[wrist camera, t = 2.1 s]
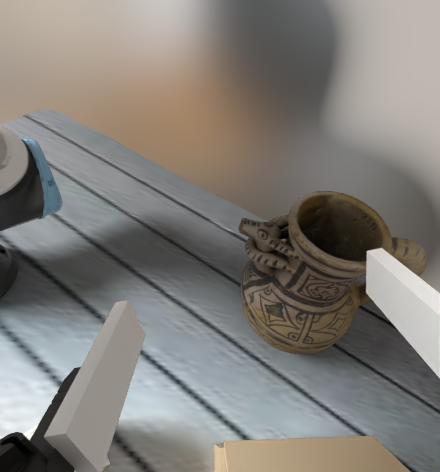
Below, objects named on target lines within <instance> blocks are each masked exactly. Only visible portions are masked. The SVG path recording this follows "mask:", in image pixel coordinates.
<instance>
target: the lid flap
mask: <svg viewBox="0 0 440 472" xmlns="http://www.w3.org/2000/svg"><path fill="white" fill-rule="evenodd" d="M224 451H225V459H226V467H227V472H410V471H409V470H408V469H407V468H406V467H405V466H404V465H403V464H402V463H401V462H400V461H399V460H398V459H397V458H396V457H395V456H394V455H393V454H392V453H391V452H390V451H388V450H387V449H386V448H385V447H384V446H383V445H382V444H381V443H380V442H379V441H378V440H377V439H376V438H375V437H374V436H353V437H324V438H296V439H267V440H239V441H224Z"/></svg>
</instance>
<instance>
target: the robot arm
mask: <svg viewBox="0 0 440 472" xmlns="http://www.w3.org/2000/svg"><path fill="white" fill-rule="evenodd" d="M61 207H62V198H61V195H60V192H59V190H58V187H57V185H56V183H55V181H54V178H53V175H52V172H51V170H50V167H49V165H48V163H47V161H46V158H45V156H44V154H43V152H42V150H41V148H40V146H39V144H38V142H37V141H36V140H34V139H32V138H27V139H26V138H19V137H18V136H17V135H16V134H15V133H14V132H13V131H11V130H9V129H8V128H6V127H4V126H2V125H0V231H2V230H5V229H8V228H11V227H14V226H17V225H20V224H23V223H26V222H29V221H32V220H35V219H42V218H44V217H45V216H47V215H49V214H52V213H54V212H57V211H59V210H60V209H61ZM17 268H18V266H17V261H16V258H15V257H14V255H13V254H12V253H11V252H10V251H8V250H7V249H6V248H5V247H4V246H2V245H0V298H1V297H2V296H3V295H4V294H5V293H6V292H7V290H8V289H9V288H10V286H11V285H12V283H13V282H14V279H15V277H16V274H17ZM366 293H367V294H368V296H369V297H370V298H371V299H372V300H373V301H374V303H375V304H376V305H377V306H378V307H379V308H380V310H381V311H382V312H383V313H384V314H385V315H386V317H387V318H388V319H389V320H390V321H391V322H392V324H393V325H394V326H395V327H396V328H397V329H398V331H399V332H400V333H401V334H402V335H403V336H404V337H405V339H406V340H407V341H408V342H409V343H410V344H411V346H412V347H413V348H414V349H415V350H416V351H417V353H418V354H419V355H420V356H421V357H422V358H423V360H424V361H425V362H426V363H427V364H428V365H429V367H430V368H431V369H432V370H433V371H434V372H435V374H436V375H437V376H438V377H439V378H440V294H439V292H437V291H436V290H435V289H433V288H432V287H431V286H430V285H428V284H427V283H426V282H425V281H423V280H422V279H421V278H419V277H418V276H417V275H416V274H414V273H413V272H412V271H411V270H409V269H408V268H407V267H405V266H404V265H403V264H402V263H400V262H399V261H398V260H397V259H395V258H394V257H393V256H391V255H390V254H389V253H388V252H386V251H385V250H384V249H383V248H379V249H374V250H369V251H367V263H366ZM144 338H145V333H144V331H143V329H142V327H141V325H140V323H139V320H138V318H137V316H136V314H135V312H134V310H133V308H132V306H131V304H130V302H129V300H125V301H120V302H116V303H115V304H114V306H113V308H112V310H111V312H110V314H109V316H108V317H107V319H106V321H105V323H104V325H103V327H102V329H101V331H100V332H99V334H98V336H97V338H96V340H95V342H94V344H93V346H92V347H91V349H90V351H89V353H88V355H87V357H86V359H85V361H84V362H83V364H82V366H81V367H79V368H74V369H73V371H72V372H71V373H70V374H69V375H68V376H67V377H66V378H65V379H64V381H63V383H62V385H61V386H60V388H59V390H58V393H57V394H56V395H55V397H54V399H53V400H52V404H50V406H49V407H48V409H47V411H46V413H45V414H44V416H43V418H42V420H41V421H40V423H39V425H38V427H37V428H36V430H35V432H34V434H33V435H32V437H31V439H30V440H29V439H28V438H27V437H26V436H24V435H23V434H22V433H19V432H15V433H11V434H9V435H7V436H5V437H4V438H2V439H0V472H74V470H75V471H76V472H102V471H103V468H104V464H105V461H106V458H107V455H108V452H109V449H110V445H111V442H112V439H113V436H114V433H115V430H116V427H117V423H118V420H119V417H120V414H121V411H122V408H123V404H124V401H125V398H126V395H127V392H128V389H129V386H130V382H131V379H132V376H133V373H134V370H135V367H136V364H137V360H138V357H139V354H140V351H141V348H142V345H143V341H144Z"/></svg>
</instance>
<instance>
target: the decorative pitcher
mask: <svg viewBox="0 0 440 472" xmlns="http://www.w3.org/2000/svg"><path fill="white" fill-rule="evenodd" d="M239 232H240V233H242V234H244V235H246V236H248V237H249V238H248V240H247V242H246V246H245V249H246V253H247V255H248V257H249V258H250V260H249V262H248V263H247V265H246V267H245V269H244V272H243V275H242V279H241V298H242V302H243V308H244V313H245V316H246V318H247V320H248V322H249V324H250V326H251V327H252V329H253V330H254V331H255V332H256V333H257V334H258V335H259V336H260V337H261V338H262V339H263V340H264V341H266V342H267V343H268V344H270V345H271V346H273V347H275V348H277V349H279V350H282V351H285V352H289V353H294V354H311V353H316V352H320V351H322V350H325V349H327V348H328V347H330V346H331V345H333V344H334V343H335V342H337V341H338V340H339V339H340V338H341V337H342V336H343V335H344V334H345V333H346V331H347V330H348V329H349V327H350V325H351V323H352V321H353V319H354V316H355V313H356V310H357V308H358V307H359V306H360V305H363V304H365V303H367V302H369V301H372V299H371V298H370V297H369V296H368V294H367V293H366V283H364V284H362V285H358V284H356V283H355V280H356V279H357V277H359V276H363V275H365V274H366V263H367V251H369V250H374V249H379V248H383V249H384V250H385V251H386V252H388V253H389V254H390V255H391V256H393V257H394V258H395V259H397V260H398V261H399V262H400V263H402V264H403V265H404V266H405V267H407V268H408V269H409V270H411V271H412V272H413V273H414V274H416V275H417V276H418V277H419V276H420V275H421V274H422V273H423V272H424V270H425V268H426V263H427V258H426V254H425V252H424V250H423V249H422V247H421V246H420V245H418V244H417V243H415V242H413V241H411V240H408V239H404V238H397V237H391V234H390V231H389V229H388V227H387V225H386V223H385V222H384V220H383V219H382V217H381V216H380V215H379V214H378V213H377V212H376V211H375V210H374V209H372V208H371V207H370V206H368V205H367V204H365V203H364V202H362V201H360V200H358V199H356V198H354V197H352V196H349V195H346V194H343V193H338V192H332V191H317V192H312V193H309V194H306V195H304V196H302V197H301V198H299V199H298V200H297V201H296V202H295V203H294V205H293V206H292V208H291V210H290V213H289V215H286V216H282V217H279V218H275V219H272V220H270V221H268V222H260V221H254V220H250V219H246V218H243V219H242V220H241V223H240V226H239Z"/></svg>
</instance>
